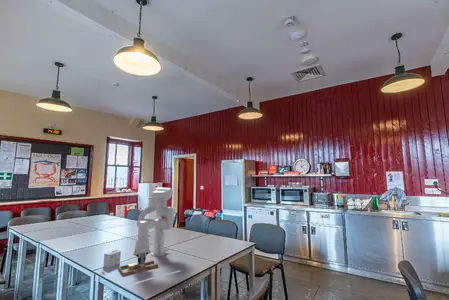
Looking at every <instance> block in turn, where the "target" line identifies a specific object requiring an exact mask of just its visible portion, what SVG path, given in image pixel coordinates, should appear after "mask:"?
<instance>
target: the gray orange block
mask: <svg viewBox="0 0 449 300" xmlns="http://www.w3.org/2000/svg"><path fill="white" fill-rule="evenodd" d="M144 254H145V253H141V254H140V258H141V261H140V264H141V265H140V267H142V266H145V264H144Z"/></svg>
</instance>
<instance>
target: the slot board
mask: <svg viewBox="0 0 449 300" xmlns="http://www.w3.org/2000/svg"><path fill="white" fill-rule="evenodd" d="M144 264H145V266H142V267H138V268H137V270H133V271H128V270H127V271H123V270H124V269H128V264H125V265H120V266H118V268H117V270H118V271H119V273H120V275H121V276H122V277H124V276H129V275H134V274H137V273H141V272H145V271H150V270H155V269H159V263H158V262H157V263H155V260H154V259H151V260H147V261H146V260H145V263H144Z"/></svg>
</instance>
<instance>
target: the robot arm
mask: <svg viewBox="0 0 449 300" xmlns="http://www.w3.org/2000/svg"><path fill="white" fill-rule="evenodd" d="M173 193H174V191H173V189H172V188H171V187H156V188H154V190H153V192H152V193H151V196H150V198H149V202H148V206H147V207H146V208H144V209H143V210H142V211H141V212H140V214H139V215H138V219H137V221H136V227H137V228H138V229H137V230H138V231H137V239H136V241H135V244H134V252H133V256H136V257H137V262H138V263H139V264H140V261H141V258H140V254H141V253H145V254H144V263H145V262H146V259H147V256H148V254H151V256H152V257H156V256H161V257H162V256H163V257H164V256H165V255H167V253H166V252H170V248H165V239H166V238H165V237H166V236H165V235H166V234H165V230H166V231H167V230H169V231H171V230H172V229H173V226H174V225H173V224H174V217H175V216H174V215H175V211H174V207H172V206H167V203H168V200H169V199H171V197H172V196H173ZM153 212H156V216H157V217H158V218H156V219H151V218H145V217H146V216H147V215H149V214H150V213H151V214H152V213H153ZM152 229H153V246H152V247H153V251H152V252H151V249H150V239H149V238H150V237H151V236H150V234H149V230H152Z"/></svg>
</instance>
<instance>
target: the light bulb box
mask: <svg viewBox="0 0 449 300" xmlns="http://www.w3.org/2000/svg"><path fill="white" fill-rule="evenodd" d="M121 253H122V251H121V250H118V249H114V250H112V251H108V252H105V253H103V254H104V255H103V266H102V267H103V268H108V269H111V268H113V267H115V266H117V265H120V264H121V256H122V255H121Z"/></svg>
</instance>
